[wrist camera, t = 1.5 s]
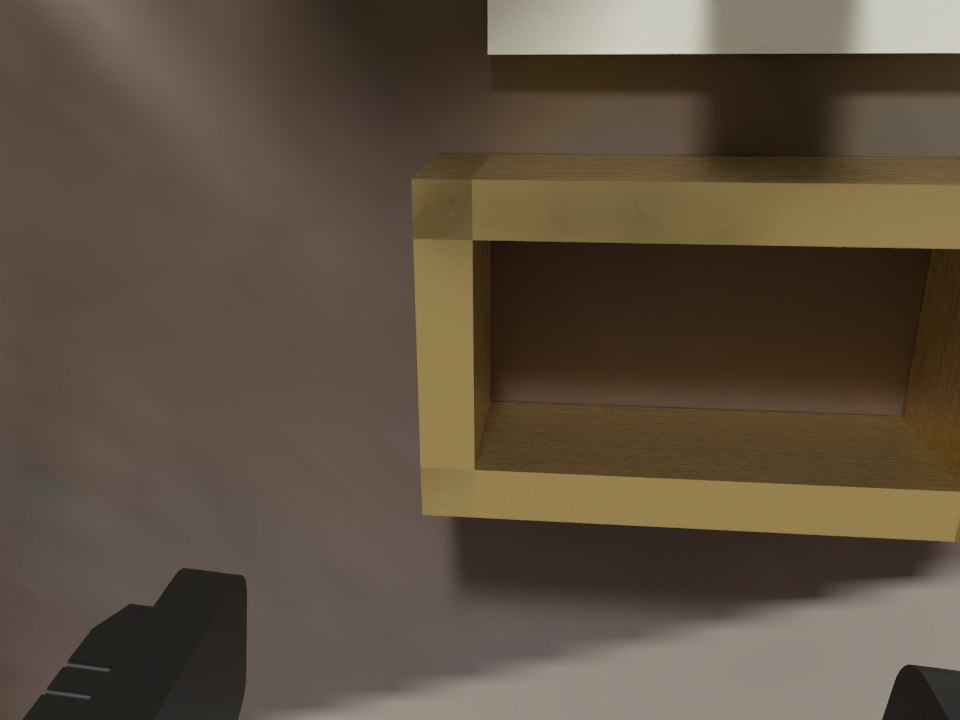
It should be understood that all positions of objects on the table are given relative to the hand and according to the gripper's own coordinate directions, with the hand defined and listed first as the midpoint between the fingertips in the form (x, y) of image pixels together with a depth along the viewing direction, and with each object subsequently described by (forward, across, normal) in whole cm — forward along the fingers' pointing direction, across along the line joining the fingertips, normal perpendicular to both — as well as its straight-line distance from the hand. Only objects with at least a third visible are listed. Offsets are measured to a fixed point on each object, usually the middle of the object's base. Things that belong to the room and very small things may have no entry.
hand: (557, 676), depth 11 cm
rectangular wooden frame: (+16, -4, 0) cm, 16 cm away
